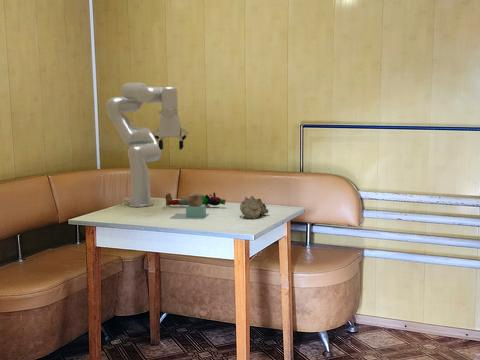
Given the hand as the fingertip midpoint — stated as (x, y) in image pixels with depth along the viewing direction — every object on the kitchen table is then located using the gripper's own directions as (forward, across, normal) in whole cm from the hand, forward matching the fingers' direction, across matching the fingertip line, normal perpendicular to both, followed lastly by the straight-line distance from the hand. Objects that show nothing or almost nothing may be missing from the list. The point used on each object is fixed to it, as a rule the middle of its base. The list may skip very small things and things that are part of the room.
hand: (171, 149), depth 286 cm
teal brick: (+30, +15, -14) cm, 36 cm away
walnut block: (+24, +15, -14) cm, 32 cm away
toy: (+31, +8, +11) cm, 34 cm away
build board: (+30, +12, -14) cm, 35 cm away
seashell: (+31, +41, -8) cm, 52 cm away
